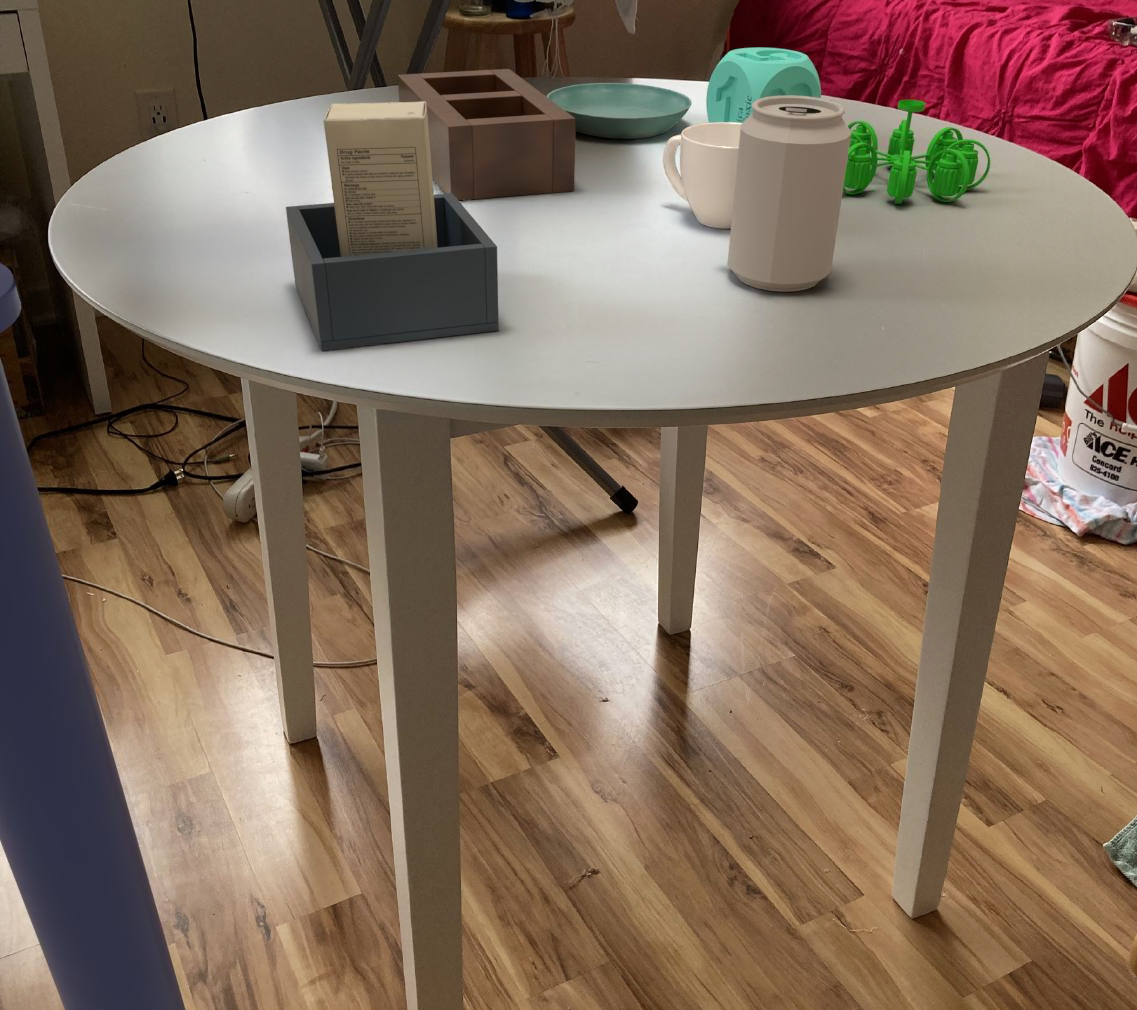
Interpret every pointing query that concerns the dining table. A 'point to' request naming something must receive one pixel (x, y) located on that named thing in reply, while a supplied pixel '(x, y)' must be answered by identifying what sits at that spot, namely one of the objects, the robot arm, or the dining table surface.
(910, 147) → the chandelier
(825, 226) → the can
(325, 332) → the open box
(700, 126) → the cup
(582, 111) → the saucer
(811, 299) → the dining table surface
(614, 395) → the dining table surface
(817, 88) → the decorative dice
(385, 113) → the cosmetic box
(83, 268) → the dining table surface
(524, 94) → the box
